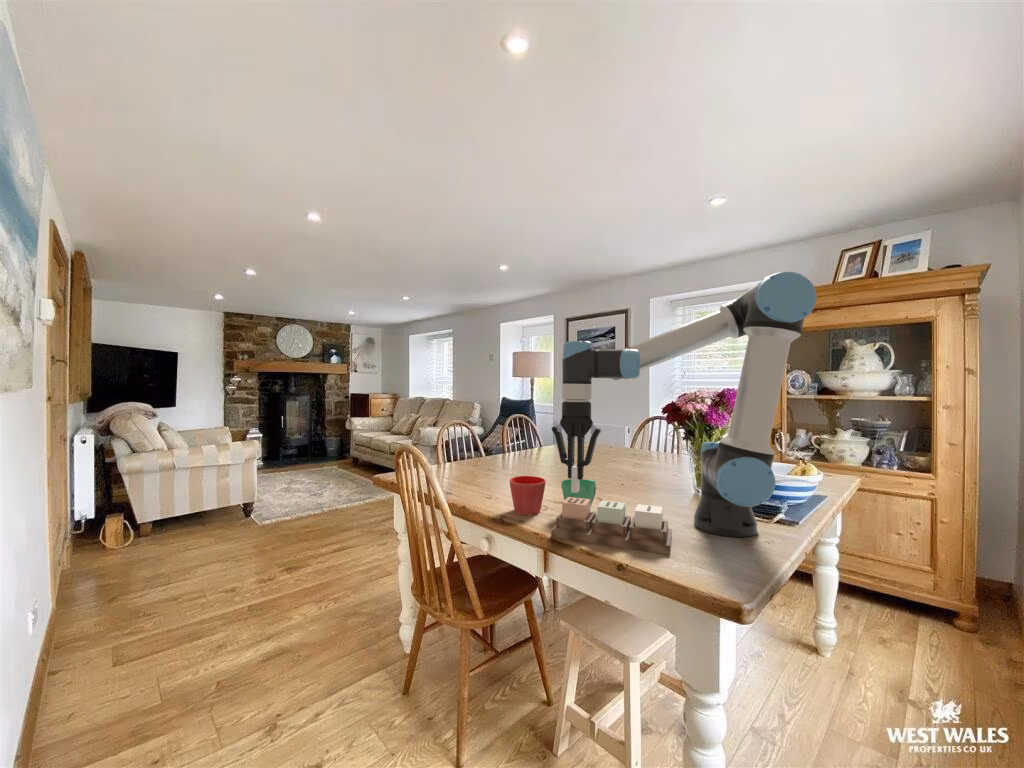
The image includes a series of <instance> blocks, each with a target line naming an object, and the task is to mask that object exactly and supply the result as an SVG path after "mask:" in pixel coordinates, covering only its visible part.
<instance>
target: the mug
mask: <svg viewBox="0 0 1024 768" xmlns="http://www.w3.org/2000/svg"><path fill="white" fill-rule="evenodd" d="M560 484H561V485H560V486H561V491H562V495H563V499H564V500H566V499H567V498H568V497H574V498H584V499H590V509H591V507H592V505H593V502H594V499H595V496H596V488H597V485H596V481H595V480H594V479H592V478H588V479H582V480H580V481H579V491H578V492H577V493H573V492H571V479H570V478H568V479H564V480H562V481H561V483H560ZM564 500H563V501H564Z"/></svg>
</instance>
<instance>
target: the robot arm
mask: <svg viewBox="0 0 1024 768" xmlns="http://www.w3.org/2000/svg"><path fill="white" fill-rule="evenodd" d="M817 296H818V295H817V290H816V287H815V286H814V284H813V282H811V280H810V279H808V278H807V277H806V276H805V275H803V274H801V273H798V272H794V271H780V272H776V273H773V274H771V275H768V276H766V277H764V278H763V279H762V280H761V281H760V282H759V283H757V284H756V285H755V286H753V287H751V288H750V289H748V290H747V291H746V292H744V293H743V294H742V295H740V296H739V297H737V298H735V299H733V300H732V301H730V302H727V303H725V304H722V305H721V306H720V307H719V309H718V310H717V311H714V312H712V313H710V314H707V315H704V316H702V317H700V318H698V319H695V320H693V321H690V322H686V323H685V324H683V325H679V326H677V327H675V328H673V329H669V330H668V331H664V332H663V333H660V334H657V335H654V336H653V337H650V338H648V339H645V340H643V341H642V340H641V341H640V342H638V343H635V344H632V345H630V346H628V347H624V348H613V349H612V348H610V349H609V348H608V349H607V348H606V349H605V348H602V349H600V348H593V343H592V342H591V341H589V340H571V341H570V340H569V341H566V342H565V343H564V344H563V350H562V362H561V363H562V386H561V387H562V388H561V389H562V392H561V399H562V400H564V401H562V403H561V419H560V420H559V423H558V424H557V425H555V426H552V427H551V431H552V433H553V434H554V436H555V441H556V445H557V449H558V454H559V455H558V456H559V459H560V462H561V464H564V465H566V466H567V478H568V479H571V492H573V493H577V492H578V491H579V481H580V480H582V479H583V478H584V467H585V466H588V465H590V464H591V462H592V458H593V455H594V452H595V447H596V443H597V439H598V437H599V435H601V433H602V428H601V427H599V428H598V427H597V426H596V425H594V422H593V420H592V403H591V401H590V400H591V399H592V380H593V379H611V380H614V381H619V380H622V379H624V380H629V379H637V378H639V377H640V373H641V371H643V370H646V369H648V368H649V369H650V368H652V367H653V366H657V365H659V364H663V363H664V362H667V361H670V360H672V359H675V358H678V357H681V356H683V355H686V354H689V353H691V352H693V351H697V350H699V349H701V348H704V347H707V346H709V345H711V344H715V343H717V342H719V341H720V342H721V341H722V340H725V339H728V338H732V339H738V338H741V337H743V336H747V338H748V340H747V345H746V349H745V354H744V357H743V362H742V363H743V364H742V368H741V372H740V378H739V383H738V386H737V392H736V396H735V401H734V406H733V410H732V414H731V418H730V419H731V420H730V424H729V427H728V428H729V430H728V433H727V435H726V436H725V437H723V438H721V439H720V440H719V441H717V442H716V441H715V442H714V441H705V442H702V444H701V449H700V453H699V454H700V470H701V471H700V498H699V501H698V504H697V507H696V510H695V513H694V516H693V520H694V521H693V524H694V526H695V527H696V528H698V529H700V530H701V531H704V532H707V533H709V534H713V535H719V536H724V537H730V538H732V537H733V538H749V537H753V536H755V535H756V534H758V522H757V520H756V517H755V514H754V513H755V512H753V509H752V508H753V507H757V506H760V505H762V504H765V502H767V501H768V500H769V499H770V498H771V497H772V496H773V494H774V491H775V489H776V477H775V473H774V472H773V470H772V468H773V467H772V466H773V462H774V458H775V451H774V450H773V448H772V447H771V446H770V439H771V434H772V431H773V426H774V422H775V421H774V420H775V416H776V412H777V409H778V408H777V407H778V403H779V398H780V395H781V389H782V385H783V381H784V375H785V372H786V368H787V366H786V365H787V362H788V357H789V352H790V348H791V344H792V343H793V342H794V341H795V340H797V339H798V338H800V337H801V335H802V330H803V327H804V321H805V319H806V318H807V317H808V316H809V315H810V314H811V312H812V311H813V310H814V309H815V306H816V303H817V300H818V299H817ZM563 431H564V432H565V434H566V436H567V439H566V440H567V451H566V445H565V442H564V436H563V433H562V432H563ZM589 431H590V434H591V435H590V438H589V441H588V446H587V450H586V455H585V439H586V437H585V436H586V435H587V434H588V432H589ZM575 440H577V447H576V449H577V455H576V458H577V459H576V460H577V462H576V465H575V446H576V445H575Z"/></svg>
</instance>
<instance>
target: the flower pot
mask: <svg viewBox="0 0 1024 768" xmlns="http://www.w3.org/2000/svg"><path fill="white" fill-rule="evenodd" d="M546 484H547V481H546V479H545V478H543V477H541V476H540V477H539V476H532V475H520V476H514V477H511V478H509V486H510V492H511V498H512V503H513V508H514V512H515V513H516V514H518V515H521V516H534V515H537V514H539V513H540V512H541V509H542V504H543V500H544V495H545V494H544V493H545V489H546Z"/></svg>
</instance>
